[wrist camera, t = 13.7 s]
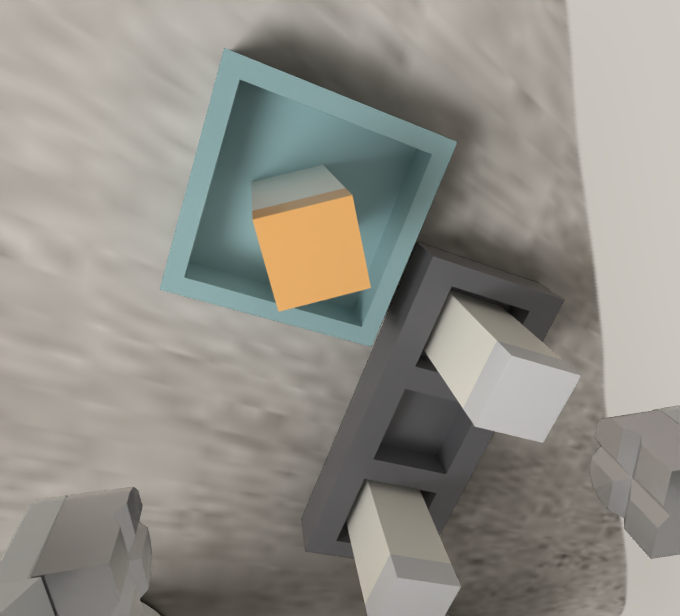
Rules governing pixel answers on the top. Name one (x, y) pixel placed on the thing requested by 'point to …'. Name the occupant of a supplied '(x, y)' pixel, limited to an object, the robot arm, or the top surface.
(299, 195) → the block
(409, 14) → the top surface
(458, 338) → the block
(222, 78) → the tray
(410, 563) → the block
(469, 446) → the block
